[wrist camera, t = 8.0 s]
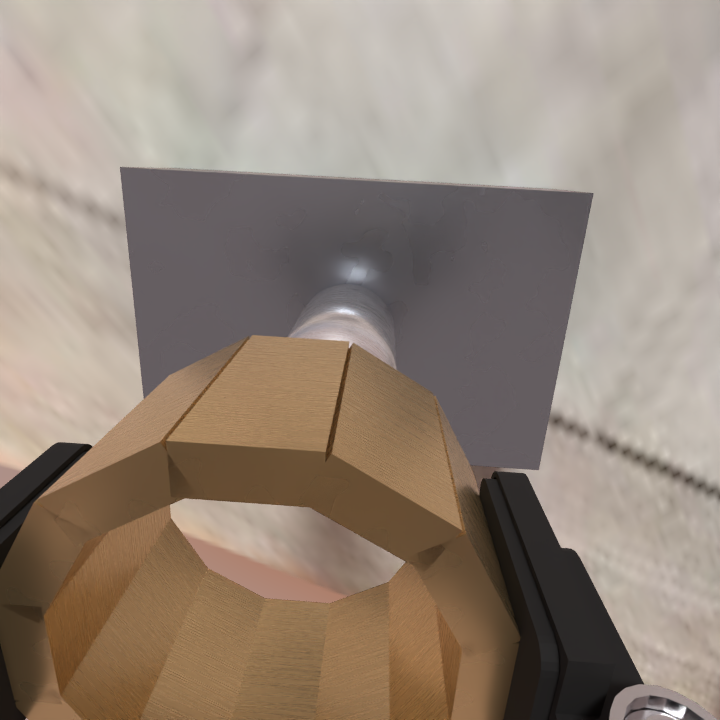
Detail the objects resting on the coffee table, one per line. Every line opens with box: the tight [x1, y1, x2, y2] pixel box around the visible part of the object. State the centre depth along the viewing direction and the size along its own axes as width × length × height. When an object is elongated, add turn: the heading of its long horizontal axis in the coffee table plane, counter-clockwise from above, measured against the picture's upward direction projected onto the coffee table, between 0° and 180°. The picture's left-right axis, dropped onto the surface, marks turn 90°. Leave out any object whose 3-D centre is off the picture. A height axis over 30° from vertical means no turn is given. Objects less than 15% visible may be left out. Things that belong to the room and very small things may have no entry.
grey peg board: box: [120, 167, 593, 470], centre depth 21 cm, size 18×12×12 cm, turn 87°
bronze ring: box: [0, 335, 521, 720], centre depth 9 cm, size 7×7×4 cm
